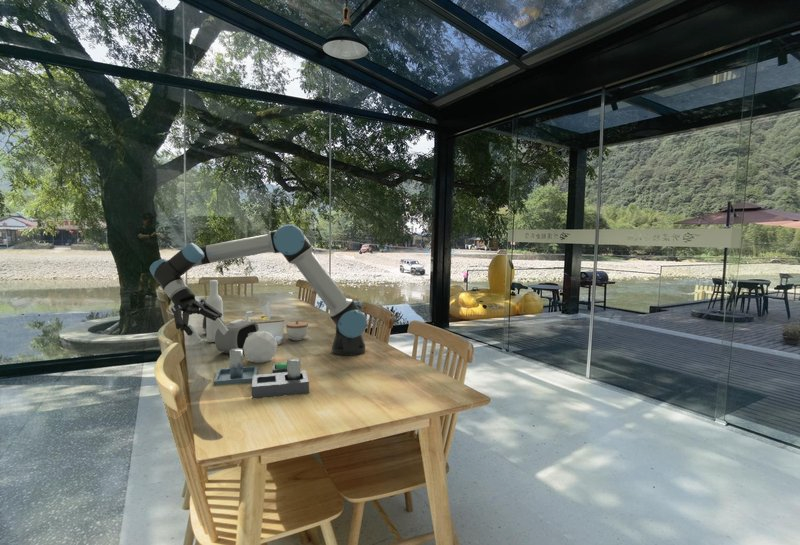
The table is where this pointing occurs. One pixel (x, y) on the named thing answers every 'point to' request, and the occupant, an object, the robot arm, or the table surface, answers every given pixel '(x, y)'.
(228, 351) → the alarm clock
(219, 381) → the tray
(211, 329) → the bottle
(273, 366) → the button housing
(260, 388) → the block
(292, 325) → the lidded jar
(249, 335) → the geodesic sphere
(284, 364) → the button
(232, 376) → the loose billet
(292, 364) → the cylinder
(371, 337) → the table surface
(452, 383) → the table surface
